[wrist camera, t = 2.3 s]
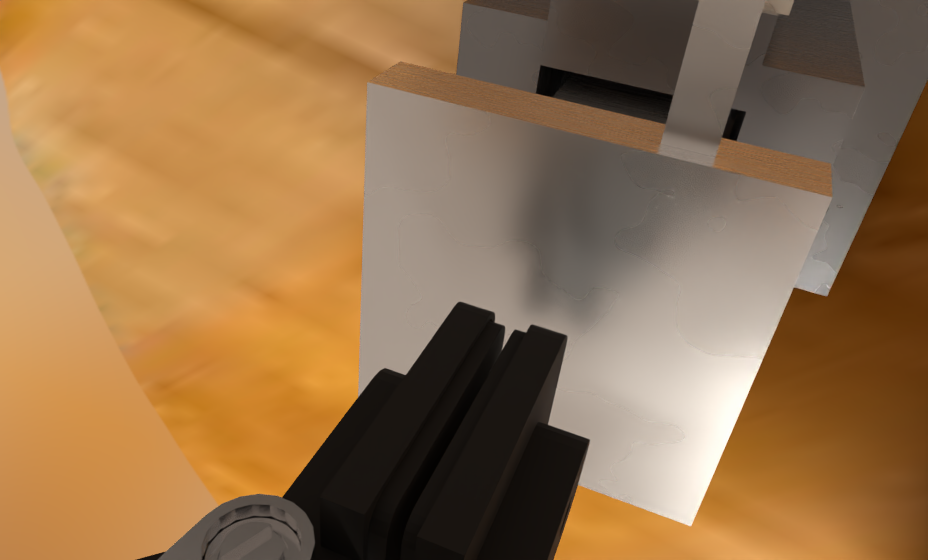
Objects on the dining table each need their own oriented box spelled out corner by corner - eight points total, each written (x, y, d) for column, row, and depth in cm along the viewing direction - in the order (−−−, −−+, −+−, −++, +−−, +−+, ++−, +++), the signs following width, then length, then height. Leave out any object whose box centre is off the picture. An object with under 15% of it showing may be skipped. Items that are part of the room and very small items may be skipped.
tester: (997, -91, 20) (1099, -32, 13) (826, 281, 27) (830, 455, 19) (498, -166, 23) (359, -151, 16) (460, 181, 30) (351, 298, 23)
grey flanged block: (867, -82, 16) (911, 15, 9) (732, 280, 21) (690, 526, 14) (552, -131, 18) (372, -85, 10) (501, 214, 23) (358, 404, 16)
